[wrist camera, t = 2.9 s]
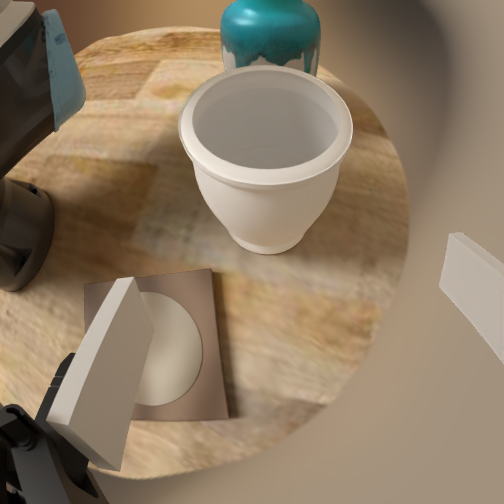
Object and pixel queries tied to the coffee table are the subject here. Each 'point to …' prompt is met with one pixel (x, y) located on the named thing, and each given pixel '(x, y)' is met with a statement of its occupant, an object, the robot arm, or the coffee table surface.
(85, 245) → the coffee table surface
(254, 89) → the jar
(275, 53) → the vase
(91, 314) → the walnut board
